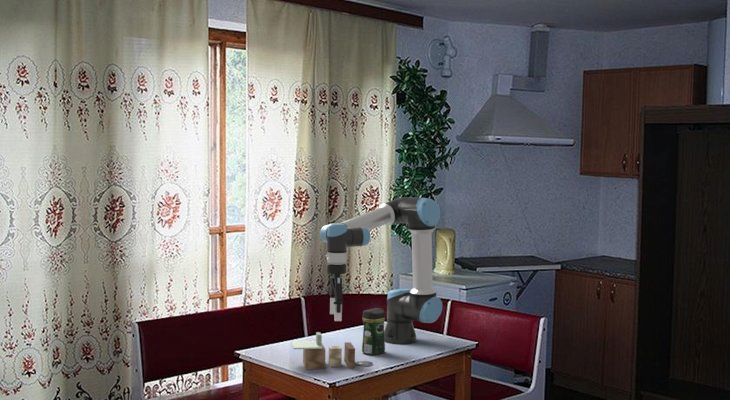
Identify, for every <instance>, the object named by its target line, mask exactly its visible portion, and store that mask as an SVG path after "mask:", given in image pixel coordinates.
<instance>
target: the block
mask: <svg viewBox="0 0 730 400" xmlns="http://www.w3.org/2000/svg"><path fill="white" fill-rule="evenodd" d="M342 350H343V349H342V346H341V345H328V361H327V363H328V365H329V367H330V368H331V367H342V360H343V359H342V357H343V356H342V352H343V351H342Z"/></svg>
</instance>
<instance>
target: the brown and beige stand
mask: <svg viewBox="0 0 730 400" xmlns="http://www.w3.org/2000/svg"><path fill="white" fill-rule="evenodd" d="M321 345H322V349H302V363H303V367H304V369H305V370H324V369H326V348H325V346H324V344H323V342H322V343H321ZM343 358H344V359H343V362H344V364H345V365H346V366H347V369H355V367H356V365H355V362H356V359H355V358H356V348H355V346H354V345H353V344H352V342H351V341H350V342H349V341H347V342H344V357H343Z"/></svg>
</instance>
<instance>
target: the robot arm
mask: <svg viewBox="0 0 730 400" xmlns="http://www.w3.org/2000/svg"><path fill="white" fill-rule="evenodd" d="M440 219H441V209H440V206H439V204H438V203H437V202H436V201H435V200H434V199H432V198H426V197H409V196H404V197H402V196H401V197H398V198H395V199H393V200H390V201H387V202H385V203H382V204H381V205H379V207H378V208H376V209H373V210H370V211H368V212H365V213H363V214H360V215H357V216H355V217H352V218H350V219H346V220H343V221H342V222H338V223H333V222H332V223H329V224H325V225H323V226H322V228H321V229H320V232H319V236H320V240H322V242H323V243H326V246H327V248H326V249H327V251H326V253H327V254H325V258H326V261H327V264H326V273H327V274H329V275H330V285H329V297H330V298H329V315H333V316H334V317H333V318H334V322H342V320H343V319H342V316H343V314H342V313H343V303H344V300H343V299H344V298H343V278H342V277H341V275H344V274H346V273H347V264H346V263H347V255H348V253H347V250H348V249H347V248H352V247H353V248H354V247H360V248H361V247H364V246H365V247H366V246H368V245H369V243H370V241H371V232H370V231H372V230H374V229H377V228H380V227H382V226H385V225H387V226H391V225H393V224H406V225H407V230H408V232H410V233H411V253H412V254H411V257H412V258H411V259H412V260H411V263H412V267H411V268H412V288H398V289H397V288H396V289H391V290H389V291H388V292H387V298H386V325H385V326H384V340H385V343H388V344H396V345H397V344H399V345H405V344H406V345H407V344H413V343H416V342H417V333H416V330H415V327H414V324H413V323H414V321H415V322H421V323H423V324H426V323H427V324H432V323H434V322H436V321H437V320H438V319H439V318H440V316H441V314H442V311H443V302H442V300H441V298H439V296H437V290H436V289H435V288H434V287H433V286H434V281H433V279H434V278H433V248H432V247H433V244H432V243H433V242H432V241H433V239H432V233H433V232H434V230H435V229H436V225H437V224H438V223H439V221H440Z"/></svg>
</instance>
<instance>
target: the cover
mask: <svg viewBox="0 0 730 400" xmlns="http://www.w3.org/2000/svg"><path fill="white" fill-rule="evenodd" d="M322 338H323V337H322V333H321V332H319V331H317V332H315V340H291V341H290V343H291V345H292V349H293V350H303V349H322V345H321V343H322V344H323V342H322Z"/></svg>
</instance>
